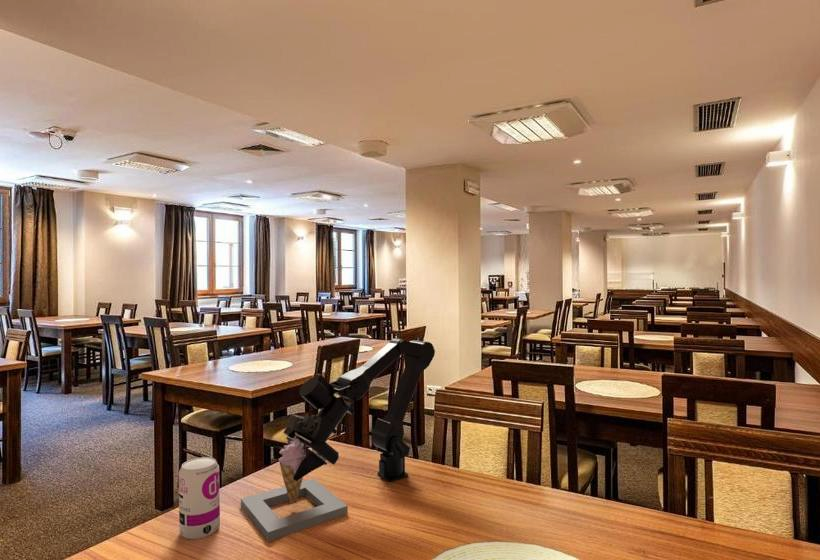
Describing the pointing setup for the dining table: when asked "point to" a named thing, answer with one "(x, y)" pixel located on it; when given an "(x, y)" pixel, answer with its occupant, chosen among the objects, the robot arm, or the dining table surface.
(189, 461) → the supplement can
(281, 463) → the ice cream cone
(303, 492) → the grey flat square frame
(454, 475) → the dining table surface
